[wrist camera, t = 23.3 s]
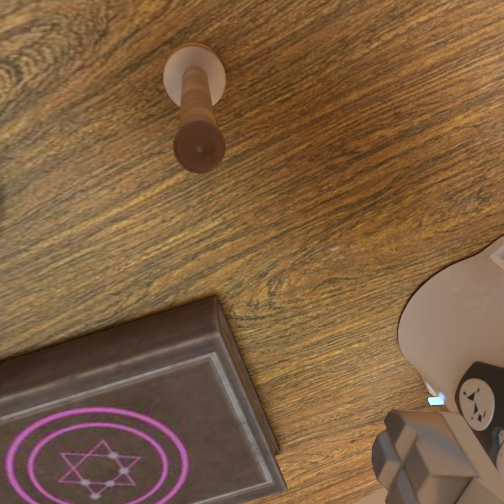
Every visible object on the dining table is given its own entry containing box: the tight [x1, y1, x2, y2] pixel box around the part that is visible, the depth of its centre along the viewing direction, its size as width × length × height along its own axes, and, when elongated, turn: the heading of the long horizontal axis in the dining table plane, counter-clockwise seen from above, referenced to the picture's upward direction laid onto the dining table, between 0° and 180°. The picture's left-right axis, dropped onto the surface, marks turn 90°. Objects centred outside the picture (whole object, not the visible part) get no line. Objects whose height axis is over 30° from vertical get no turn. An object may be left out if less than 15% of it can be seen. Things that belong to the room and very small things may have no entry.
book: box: [0, 296, 288, 504], centre depth 45 cm, size 30×22×5 cm
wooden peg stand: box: [163, 42, 226, 174], centre depth 25 cm, size 4×4×17 cm
